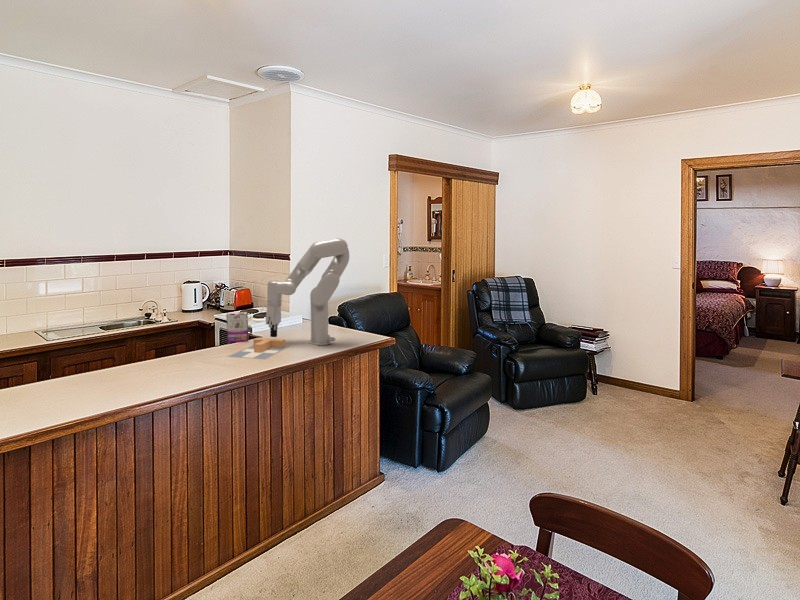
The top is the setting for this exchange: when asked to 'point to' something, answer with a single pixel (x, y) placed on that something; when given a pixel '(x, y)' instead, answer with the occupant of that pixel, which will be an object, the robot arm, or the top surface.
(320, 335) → the robot arm
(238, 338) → the candy bar box
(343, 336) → the top surface
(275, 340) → the t block
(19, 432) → the top surface
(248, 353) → the mat
